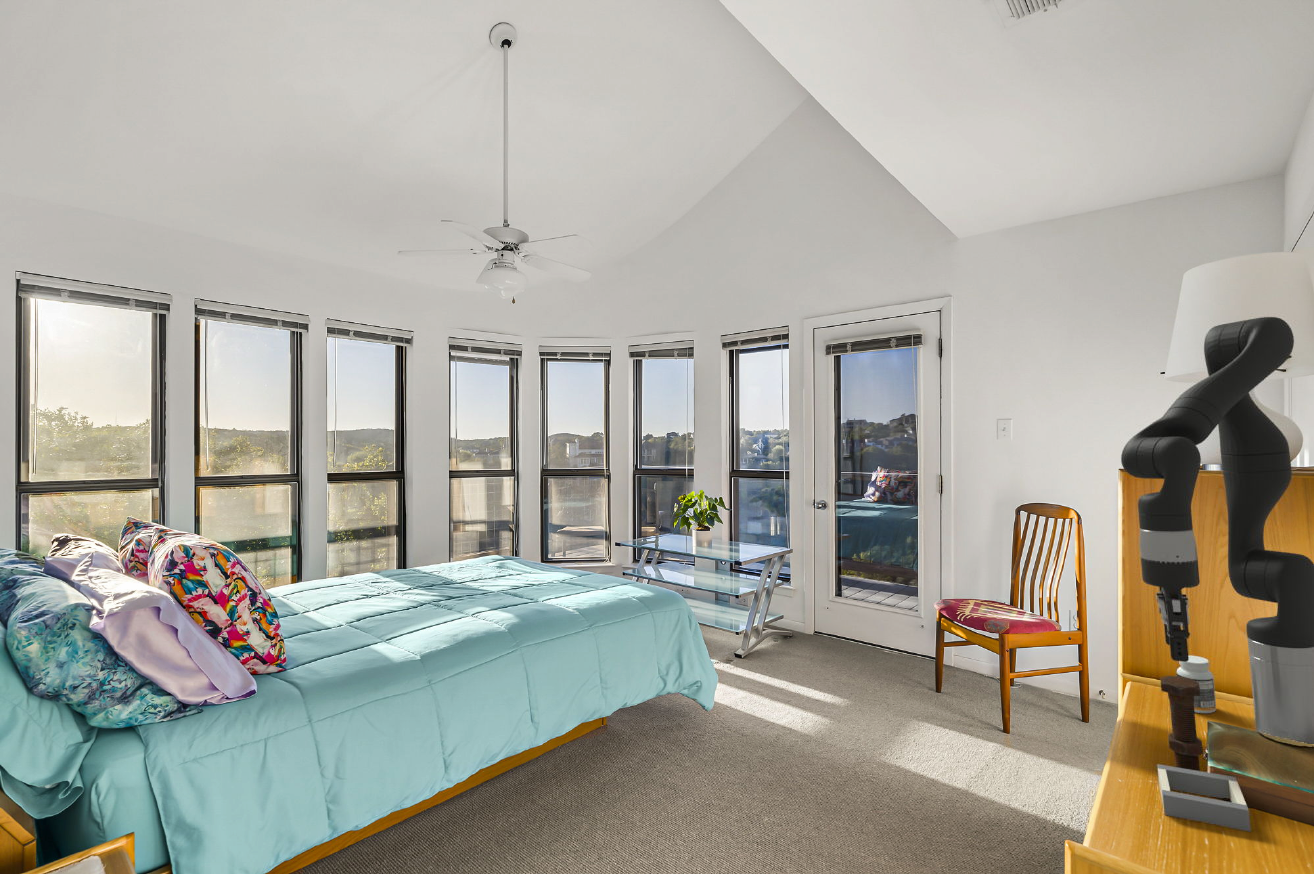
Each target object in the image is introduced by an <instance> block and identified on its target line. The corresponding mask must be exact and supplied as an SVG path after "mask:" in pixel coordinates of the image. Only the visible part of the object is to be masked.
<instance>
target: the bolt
mask: <svg viewBox="0 0 1314 874" xmlns="http://www.w3.org/2000/svg"><path fill="white" fill-rule="evenodd" d="M1159 679H1160V690H1161V692H1163V693H1167V698H1168V700H1169V709H1170V710H1169V711H1170V720H1171V721H1170V723H1171V731H1172V733H1169V734H1168V746H1169V749H1170V750H1171V751H1173V752H1174V754H1173V755H1174V762H1175V763H1174V767H1177V768H1183V769H1189V770H1195V771H1201V766H1200V757H1199V756H1201V755H1203V754H1204V751H1203V743H1202V740H1201V739H1200V738H1199V737H1198V736H1197V734H1198V733H1197V724H1196V714H1195V713H1196V712H1195V711H1194V696H1201V695H1200V686H1199V683H1198V682H1197V681H1195V680H1192V679H1190V678H1186V677H1179V676H1177V675H1165V676H1162V677H1160V678H1159Z"/></svg>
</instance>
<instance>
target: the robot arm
mask: <svg viewBox="0 0 1314 874" xmlns="http://www.w3.org/2000/svg"><path fill="white" fill-rule="evenodd" d="M1292 330H1293V329H1292V328H1291V327H1290V325H1289V323H1287V322H1286V321H1285V320H1283V319H1282V318H1280V317H1277V316H1276V317H1275V316H1264V317H1263V316H1262V317H1255V318H1250V319H1244V320H1239V321H1234V322H1229V323H1223V324H1219V325H1215V326H1212V327H1211V328H1210V329H1209V330H1208V331H1207V333H1206V335H1205V338H1204V342H1203V343H1204V344H1203V350H1204V352H1203V354H1204V360H1205V366H1206V370H1207V374H1208V376H1207V377H1206V378H1204V379H1201V380H1200V381H1198V382H1197V383H1195V384H1194V385H1192V386H1190V387H1189V388H1188V389H1186V390H1185V391H1183V393H1181V394H1179V396H1178V397H1177V398H1176V400H1174V402H1173V403H1172V404H1171V405H1170V407H1168V409H1167V410H1166V411H1165V413H1164V414H1163V416H1161V417H1160V418H1158V419H1156V420H1154V421H1153V422H1152V423H1150V424H1149V425H1147V426H1146V427H1145V428H1143V429H1142V430H1140V431H1138V432H1137V433H1136V434H1135V435H1133V436H1132V437H1131V438H1130V439H1128V441H1127V442H1126V444H1125V446H1124V447H1123V449H1122V452H1121V455H1120V456H1121V457H1120V459H1121V461H1120V462H1121V465H1122V468H1123V470H1124V471H1125V472H1126V473H1127V474H1129V475H1130V476H1132V477H1134V478H1137V479H1144V480H1145V479H1149V480H1151V479H1153V480H1155V479H1158V480H1163V484H1162V485H1161V486H1162V487H1161V488H1160V490H1159V491H1156V492H1150V493H1144V494H1143V495H1141V496H1140V497H1139V498H1138V500H1137V510H1138V521H1139V541H1138V542H1139V553H1140V555H1139V556H1140V564H1141V565H1140V566H1141V575H1142V581H1143V583H1145V584H1147V585H1149V586H1153V587H1158V589H1159V590H1158V592H1156V596H1155V597H1156V601H1157V602H1156V603H1157V604H1158V612H1159V614H1160V615H1161V618H1160V619H1161V620H1162V623H1163V627H1164V638H1165V643H1166V644H1167V646H1169V651H1170V659H1171V660H1173V661H1175V662H1179V661H1183V662H1187V661H1188V660H1189V657H1188V655H1189V648H1188V647H1189V645H1188V639H1189V638H1190V636H1191V633H1190V631H1189V625H1190V613H1189V607H1190V603H1189V597H1187V594H1186V593H1183V592H1182V590H1183V589H1190V588H1196V587H1198V586H1199V585H1200V570H1199V561H1198V559H1199V557H1198V550H1197V542H1196V538H1195V537H1196V536H1195V534H1194V529H1193V528H1194V527H1193V514H1192V502H1193V501H1192V500H1193V498H1194V497H1193V496H1194V492H1195V487H1196V483H1197V480H1198V476H1199V473H1200V469H1201V465H1202V463H1201V462H1202V461H1201V460H1202V457H1201V453H1200V451H1199V448H1198V445H1200V444H1202V443H1203V442H1204V441H1206V440H1207V438H1208V437H1209V436H1210V435H1211V434H1212V432H1213V431H1214V430H1215V428H1217V426H1218V437H1219V448H1220V458H1221V460H1220V461H1221V467H1222V470H1221V471H1222V476H1223V482H1224V489H1225V496H1226V497H1225V498H1226V499H1225V500H1226V506H1227V526H1228V528H1227V537H1228V538H1227V569H1228V576H1229V577H1228V578H1229V580H1230V584H1231V587H1232V588H1233V590H1234V591H1235V592H1236V593H1237V594H1238V595H1239V596H1241V597H1243V598H1248V599H1254V600H1259V601H1264V602H1269V603H1274V604H1275V603H1277V610H1276V611H1277V612H1276V615H1274V616H1267V617H1257V618H1254V619H1250V620H1248V621H1247V623H1246V625H1245V626H1246V638H1247V648H1248V649H1247V650H1248V658H1249V668H1250V680H1251V690H1252V700H1253V701H1252V702H1253V712H1254V714H1253V715H1254V723H1255V731H1256V732H1257V731H1258V732H1261V733H1266V734H1270V735H1272V736H1278V737H1280V738H1287V739H1290V740H1295V741H1298V742H1304V743H1307V744H1314V562H1313V560H1312V559H1311V558H1309V556H1306V555H1304V554H1300V553H1294V552H1286V551H1278V550H1276V551H1275V550H1270V549H1269V550H1268V549H1265V541H1264V539H1265V538H1264V533H1265V531H1264V530H1265V525H1266V522H1267V519H1268V517H1269V515H1270V513H1271V512H1272V511H1273V509H1274V508H1275V506H1276V505H1277V504H1278V502H1279V501H1280V500H1281V498H1282V497H1283V495H1284V494H1285V492H1286V491H1287V489H1288V487H1289V486H1290V483H1291V481H1292V475H1293V474H1292V472H1293V471H1292V463H1291V454H1290V446H1289V442H1288V439H1287V437H1286V436H1285V435H1284V433H1283V432H1282V431H1281V430H1280V428H1279V427H1278V426H1277V425H1276V424H1275V423H1274V422H1273V421H1272V420H1271V418H1269V417H1268V416H1267V415H1266V413H1265V412H1264V411H1263V410H1261V409H1260V408H1259V406H1258V405H1257V404H1256V403H1255V401H1254V400H1253V399H1252V397H1251V395H1250V392H1251V391H1253V390H1254V389H1255V388H1257V386H1258V385H1259V384H1261V383H1262V382H1263V381H1264V380H1265V379H1266V378H1268V377H1269V376H1270V375H1271V374H1273V373H1274V372H1276V370H1278V369H1279V368H1280V367H1281V366H1282V365H1283V364H1284V363H1285V362H1287V360H1288V359H1289V357H1290V356H1291V354H1292V352H1293V349H1294V344H1295V338H1294V333H1293V331H1292ZM1258 732H1257V733H1258Z"/></svg>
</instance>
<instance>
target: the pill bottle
mask: <svg viewBox="0 0 1314 874" xmlns="http://www.w3.org/2000/svg"><path fill="white" fill-rule="evenodd" d="M1188 657H1189V660H1188V661H1187V662H1183V661H1178V663H1179V665H1180V667H1178V668H1177V670H1176V676H1179V677H1186V678H1190V679H1192V680H1195V681H1197V682H1198V683H1199V686H1200V695H1201V696H1194V711H1195V712H1194V713H1196V714H1197V713H1198V714H1213V713H1214V712H1215V711H1217V700H1216V691H1215V677H1214V674H1213V673H1212V672H1211V671H1210V670H1209V668H1210V661H1209V660H1208V659H1207V658H1205V657H1203V656H1197V655H1189V654H1188Z"/></svg>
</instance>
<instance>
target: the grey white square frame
mask: <svg viewBox="0 0 1314 874" xmlns="http://www.w3.org/2000/svg"><path fill="white" fill-rule="evenodd" d="M1156 766H1157V769H1156V770H1157V778H1158V779H1157V780H1158V785H1159V786H1158V787H1159V791H1160V797H1161V801H1162V806H1163V808H1162V809H1163V811H1164V815H1165V816H1170V817H1174V818H1180V819H1184V820H1189V819H1190V820H1189V821H1194V820H1196V821H1195V822H1199V821H1202V822H1201V823H1204V822H1207V823H1206V824H1209V823H1210V824H1209V825H1214V824H1217V825H1216V826H1219V825H1221V826H1220V827H1224V826H1227V827H1226V828H1230V829H1234V830H1241V831H1246V832H1250V833H1251V832H1252V831H1251V821H1250V819H1251V818H1250V811H1249V808H1248V805H1247V802H1246V801H1245V800H1246V799H1245V798H1244V795H1243V792H1242V790H1241V787H1240V785H1239V783H1238V781H1237V780H1238V779H1237V778H1236V777H1235V776H1231V775H1230V776H1229V775H1225V774H1220V773H1212V772H1209V771H1201V770H1200V771H1195V770H1189V769H1183V768H1177V767H1176V766H1170V765H1165V764H1164V765H1163V764H1159V763H1157V764H1156ZM1171 790H1174V791H1171ZM1177 791H1179V792H1177ZM1181 792H1185V793H1181ZM1188 793H1189V794H1188ZM1193 794H1196V795H1193ZM1198 795H1199V796H1198ZM1200 795H1202V796H1200ZM1203 796H1205V797H1203ZM1208 797H1209V798H1208ZM1210 797H1211V798H1210ZM1228 797H1229V798H1230V800H1229V801H1226V800H1225V801H1224V800H1221V799H1223V798H1228ZM1216 798H1217V799H1216ZM1185 818H1186V819H1185Z"/></svg>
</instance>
